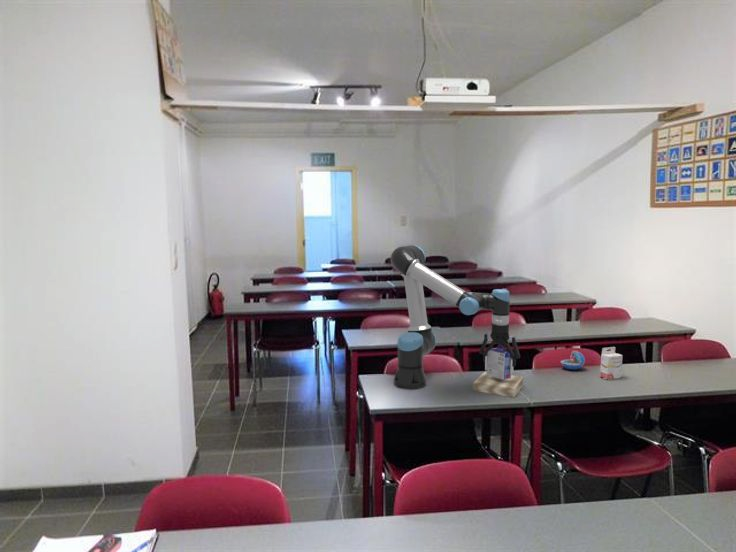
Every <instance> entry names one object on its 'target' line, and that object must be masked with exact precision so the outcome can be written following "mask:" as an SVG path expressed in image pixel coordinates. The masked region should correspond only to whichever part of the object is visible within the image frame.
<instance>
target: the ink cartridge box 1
mask: <svg viewBox="0 0 736 552" xmlns="http://www.w3.org/2000/svg"><path fill="white" fill-rule="evenodd" d="M501 347H502V348H501ZM505 349H506V347H505V346H504V344H503V345H501V344H497V346H496V347H495V348H493V347H492V348H491V349H490V350H489V351H488V353H487V355H488V359H487V370H486V372H487V375H489V376H493V377H496V378H499V379H503V380H505V379H509V378H511V375H512V374H510V365H511V359H512V357H511V355H510V353H509V352H508V350H507V349H506V350H505Z"/></svg>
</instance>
